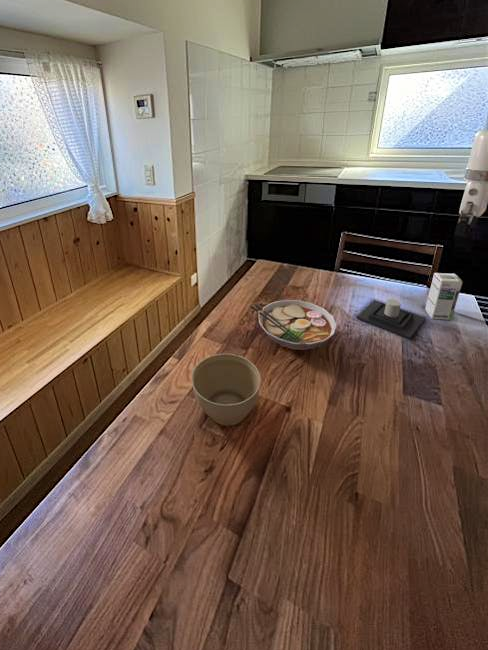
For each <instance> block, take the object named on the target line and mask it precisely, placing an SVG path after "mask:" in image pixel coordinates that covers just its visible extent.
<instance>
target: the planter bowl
mask: <svg viewBox="0 0 488 650" xmlns="http://www.w3.org/2000/svg"><path fill="white" fill-rule="evenodd" d="M190 379H191V381H190V382H191V387H192V389H193V393H194V397H195V399H196V401H197V403H198V405H199V407H200V408H201V409H202V411H203V412H204V413H205V414H206V415H207V416H208V417H210V418H211V420H212V421H213V422H215V423H216V424H219V425H221V426H225V427H229V426H235V425H237V424H239V423H241V422H242V421H243V420H244V419H245V417H247V416H248V415H249V414H250V412H251V411H252V410H253V408H254V407H255V405H256V403H257V401H258V398H259V394H260V389H261V383H262V381H261V380H262V379H261V374H260V372H259V370H258V367H257V366H256V365H255V364H254V363H253V362H252V361H251V360H249V359H248V358H245V357H243V356H241V355H239V354H238V355H237V354H235V353H234V354H232V353H217V354H213V355H210V356H207V357H206V358H203V359H202V360H201V361H199V362H198V363H197V364H196V366H194V369H193V371H192V373H191V378H190Z"/></svg>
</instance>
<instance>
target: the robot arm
mask: <svg viewBox="0 0 488 650" xmlns="http://www.w3.org/2000/svg"><path fill="white" fill-rule="evenodd" d="M463 181H465V182H466V185H465V188H464V191H463V196H462V199H461V203H460V206H459V210H458V214H459V218H458V221H457V224H456V227H455V230H454V236H459V237H464V238H467V237H468V236H469V233H470V230H471V228H472V229H475V228H477V225H478V221H479V218H480V217H481V216H482V215H483V214H484V213H485V212H486V211H487V206H488V128H487V129H481V130H479V131H478V132H477V133H476V134H475V136H474V139H473V143H472V147H471V151H470V154H469V158H468V162H467V165H466V169H465V172H464V177H463Z"/></svg>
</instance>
